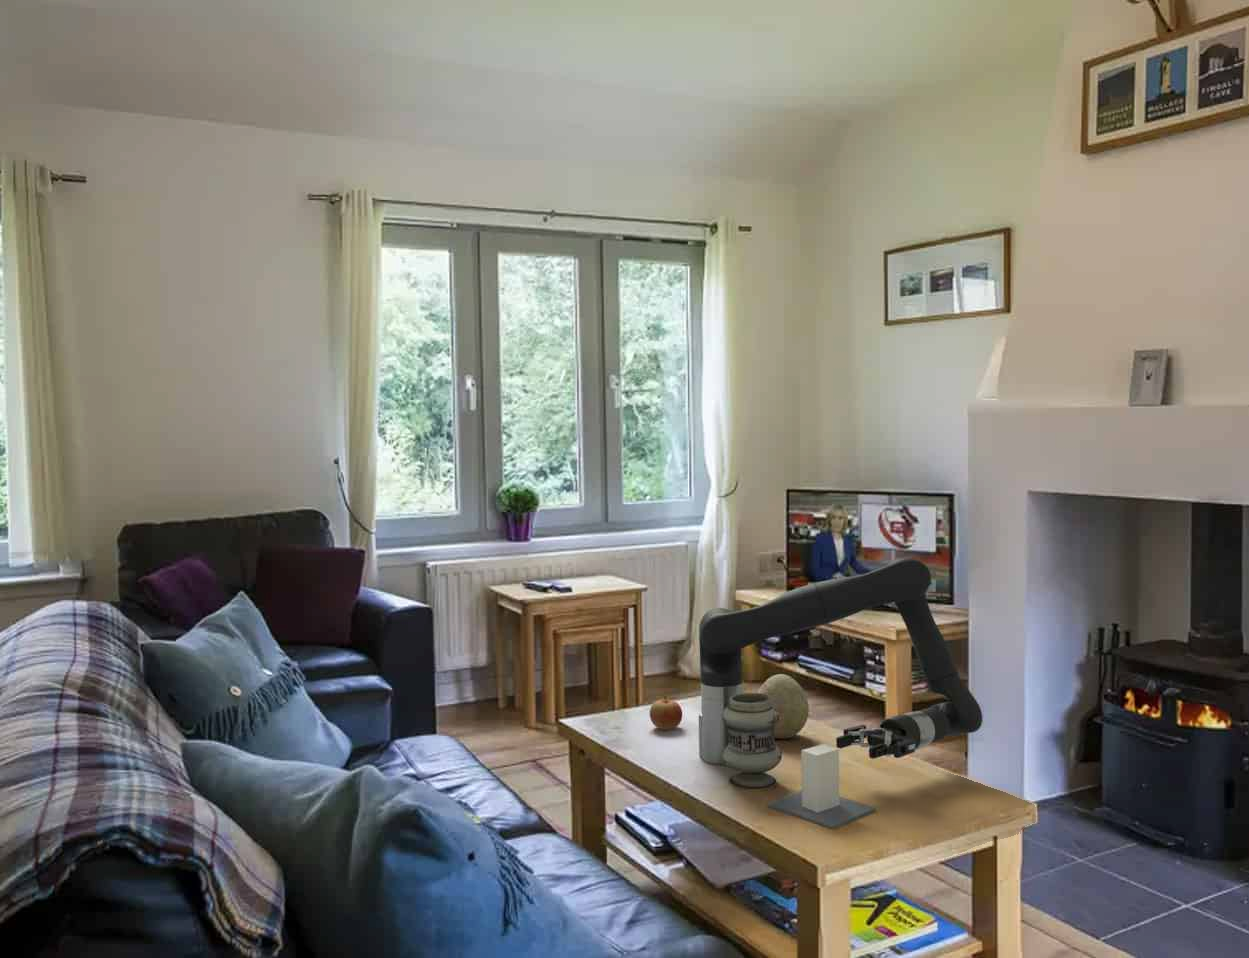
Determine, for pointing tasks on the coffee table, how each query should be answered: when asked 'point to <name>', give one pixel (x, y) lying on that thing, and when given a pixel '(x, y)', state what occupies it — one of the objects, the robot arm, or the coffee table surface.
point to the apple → (665, 714)
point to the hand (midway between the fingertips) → (853, 748)
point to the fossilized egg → (787, 704)
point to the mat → (827, 817)
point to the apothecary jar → (751, 741)
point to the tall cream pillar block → (820, 777)
